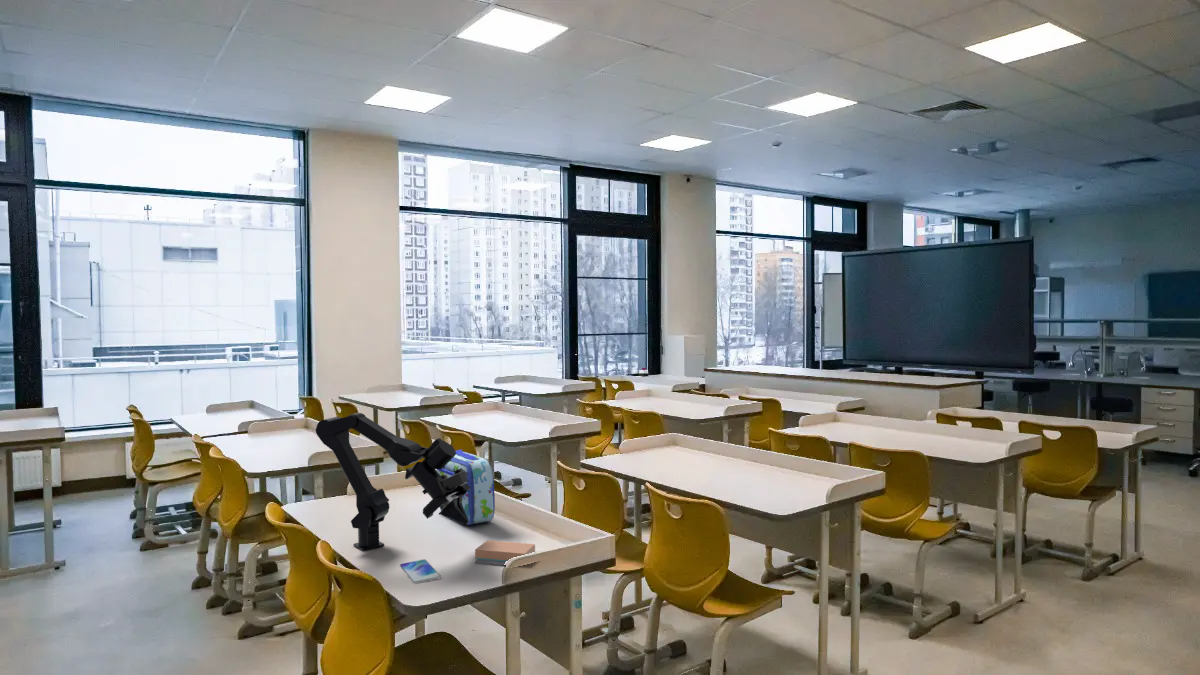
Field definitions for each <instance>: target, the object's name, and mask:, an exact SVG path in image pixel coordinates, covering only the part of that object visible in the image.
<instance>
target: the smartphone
mask: <svg viewBox="0 0 1200 675" xmlns="http://www.w3.org/2000/svg"><path fill="white" fill-rule="evenodd" d="M399 566H400V567H401V568H402V569H401V568H400V567H399ZM398 567H399V568H400V569H401V570H403V571H404V572H405V573H406V574H407V576H408V577H409V578H410V579H411V581H412V582H413V583H416V584H419V583H418V582H422V583H425V582H431V581H437V580H440V579H442V575H440V573H439V572H438V571H437V570H436V569H435V568H434V567H433V565H432V564H430V563H429V562H428V561H427V560H426V559H419V560H414V561H408V562H405V563H399V565H398ZM403 571H402V572H403ZM404 572H403V573H404ZM405 573H404V574H405ZM406 574H405V575H406ZM407 576H406V577H407ZM408 577H407V578H408ZM409 578H408V579H409ZM410 579H409V580H410ZM411 581H410V582H411ZM412 582H411V583H412ZM413 583H412V584H413Z"/></svg>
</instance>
